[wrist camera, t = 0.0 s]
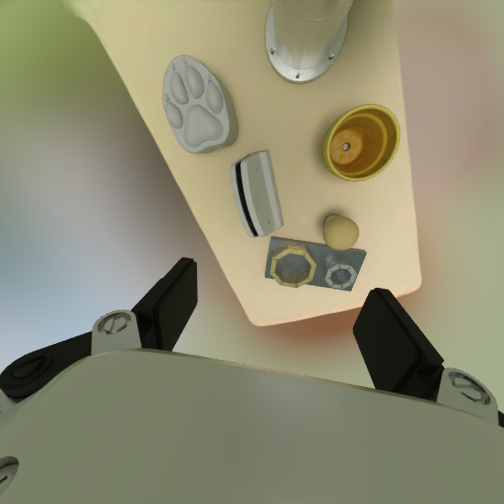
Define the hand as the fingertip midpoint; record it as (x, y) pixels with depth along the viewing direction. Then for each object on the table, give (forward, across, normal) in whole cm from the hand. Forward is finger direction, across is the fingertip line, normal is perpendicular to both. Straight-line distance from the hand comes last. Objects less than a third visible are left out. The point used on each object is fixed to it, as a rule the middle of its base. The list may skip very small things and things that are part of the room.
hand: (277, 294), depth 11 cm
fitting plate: (+37, -11, +17) cm, 42 cm away
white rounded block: (+37, +4, +2) cm, 37 cm away
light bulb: (+37, -13, +6) cm, 40 cm away
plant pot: (+37, -11, -9) cm, 40 cm away
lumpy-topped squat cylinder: (+37, +16, -12) cm, 42 cm away
